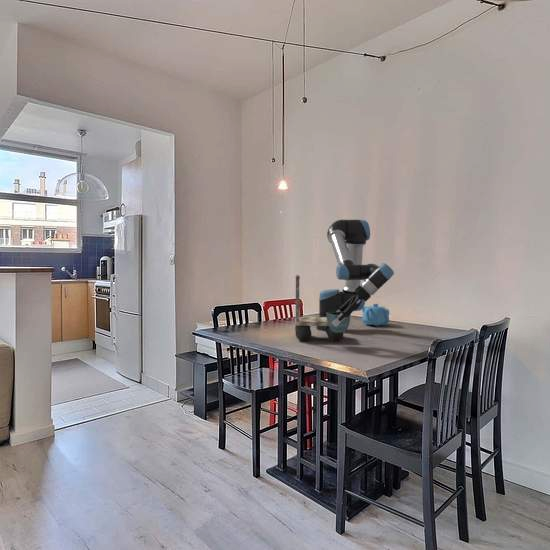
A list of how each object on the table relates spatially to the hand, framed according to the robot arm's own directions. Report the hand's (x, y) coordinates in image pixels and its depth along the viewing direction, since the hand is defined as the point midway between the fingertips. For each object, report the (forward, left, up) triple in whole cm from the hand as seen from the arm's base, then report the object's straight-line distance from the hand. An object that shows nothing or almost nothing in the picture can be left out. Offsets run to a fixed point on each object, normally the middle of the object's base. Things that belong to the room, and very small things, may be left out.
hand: (332, 322), depth 191 cm
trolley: (-1, -18, -11) cm, 21 cm away
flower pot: (-3, +1, -4) cm, 5 cm away
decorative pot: (-53, -47, -11) cm, 71 cm away
